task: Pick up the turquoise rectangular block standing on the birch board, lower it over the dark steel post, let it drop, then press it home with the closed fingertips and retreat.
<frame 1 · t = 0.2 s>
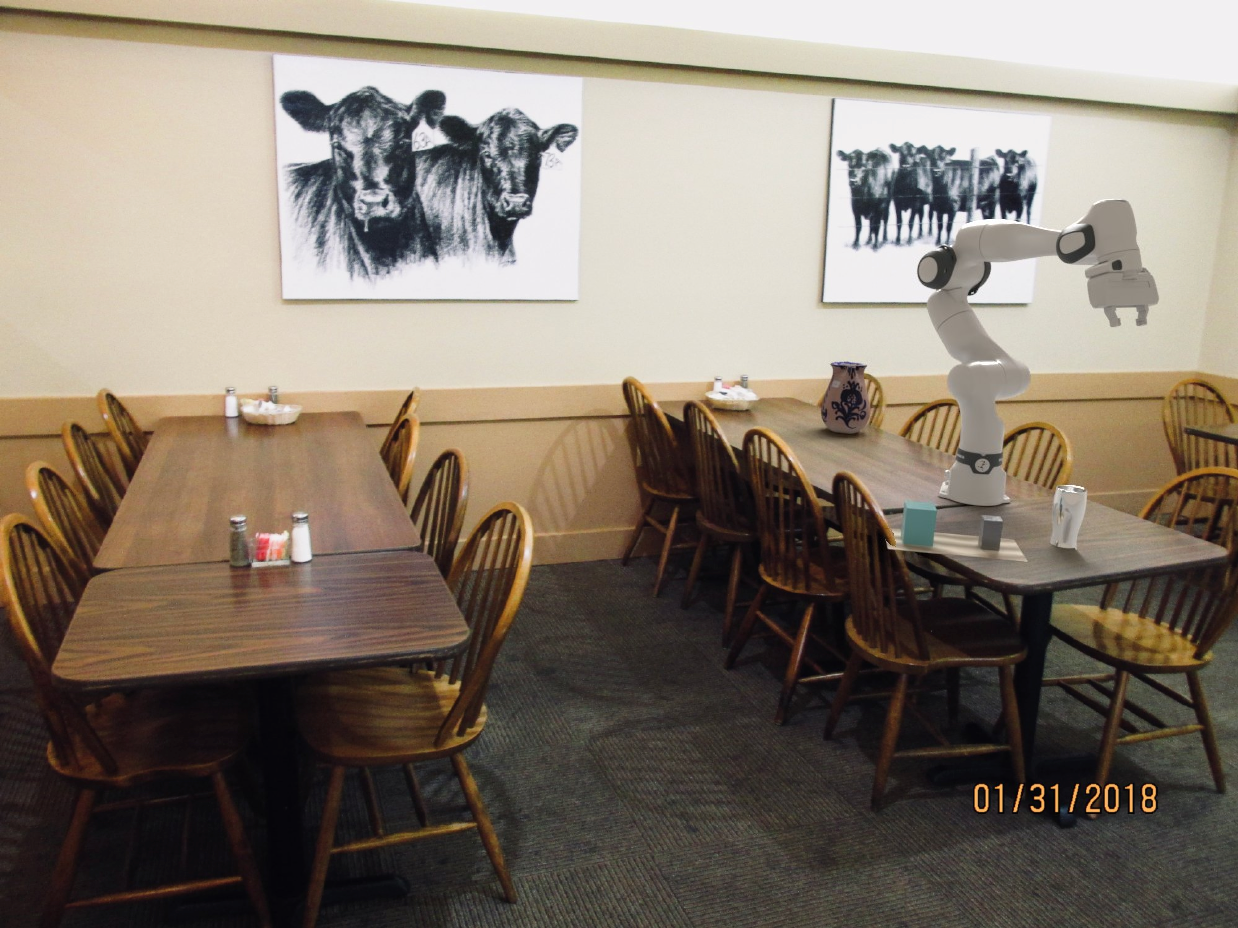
hand: (1129, 326, 220), 52 cm above the table, tool tilted 20°, fingers open, 8 cm apart
birch board: (951, 550, 221), on the table
beer glass: (1062, 550, 224), on the table
turquoise rectangular block: (916, 540, 222), point 1 cm above the table, touching birch board
steel post: (988, 547, 219), resting on birch board
ceramic pitcher: (842, 431, 351), on the table
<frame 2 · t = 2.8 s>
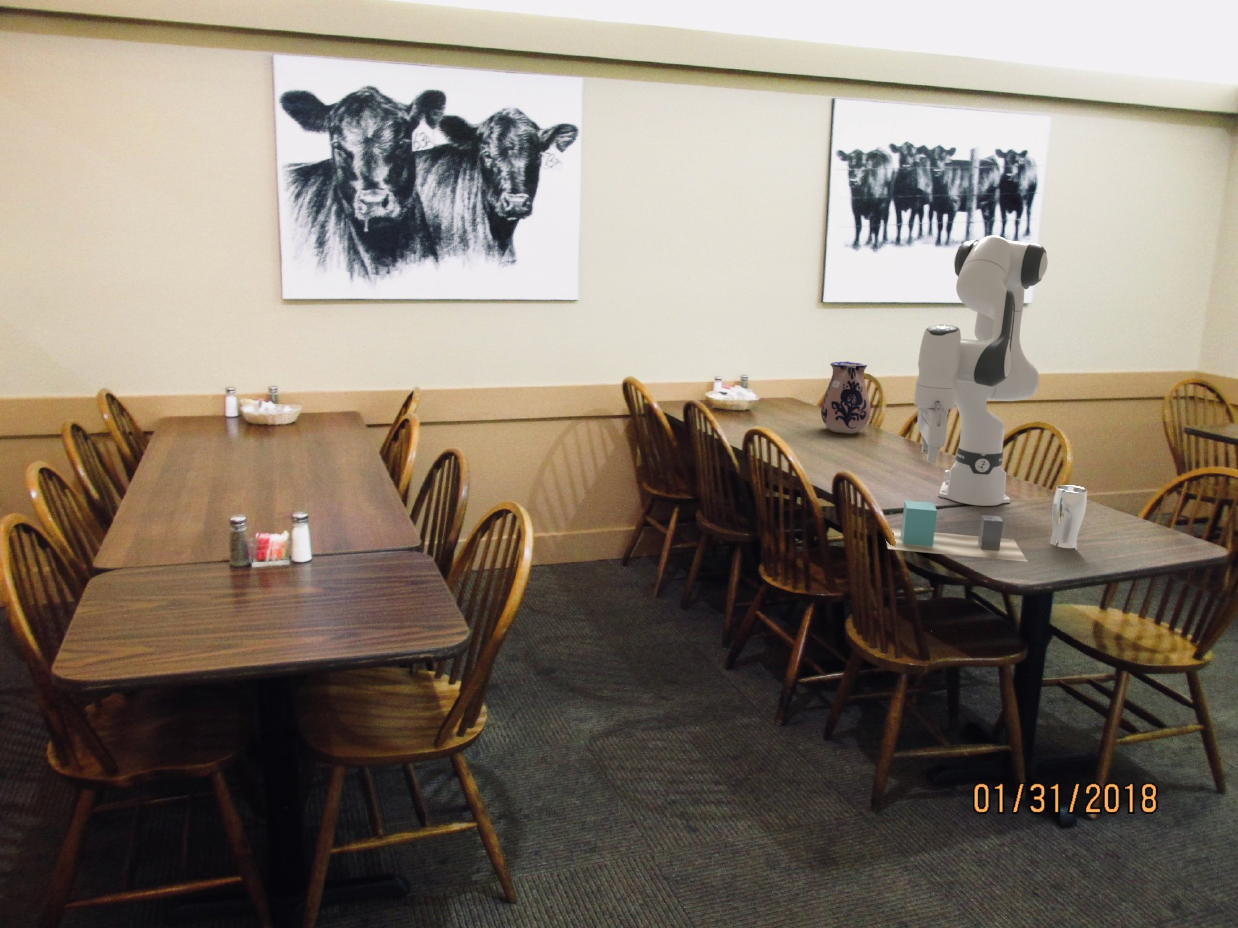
hand: (928, 458, 217), 22 cm above the table, tool pointing down, fingers open, 8 cm apart
nothing on the table moved.
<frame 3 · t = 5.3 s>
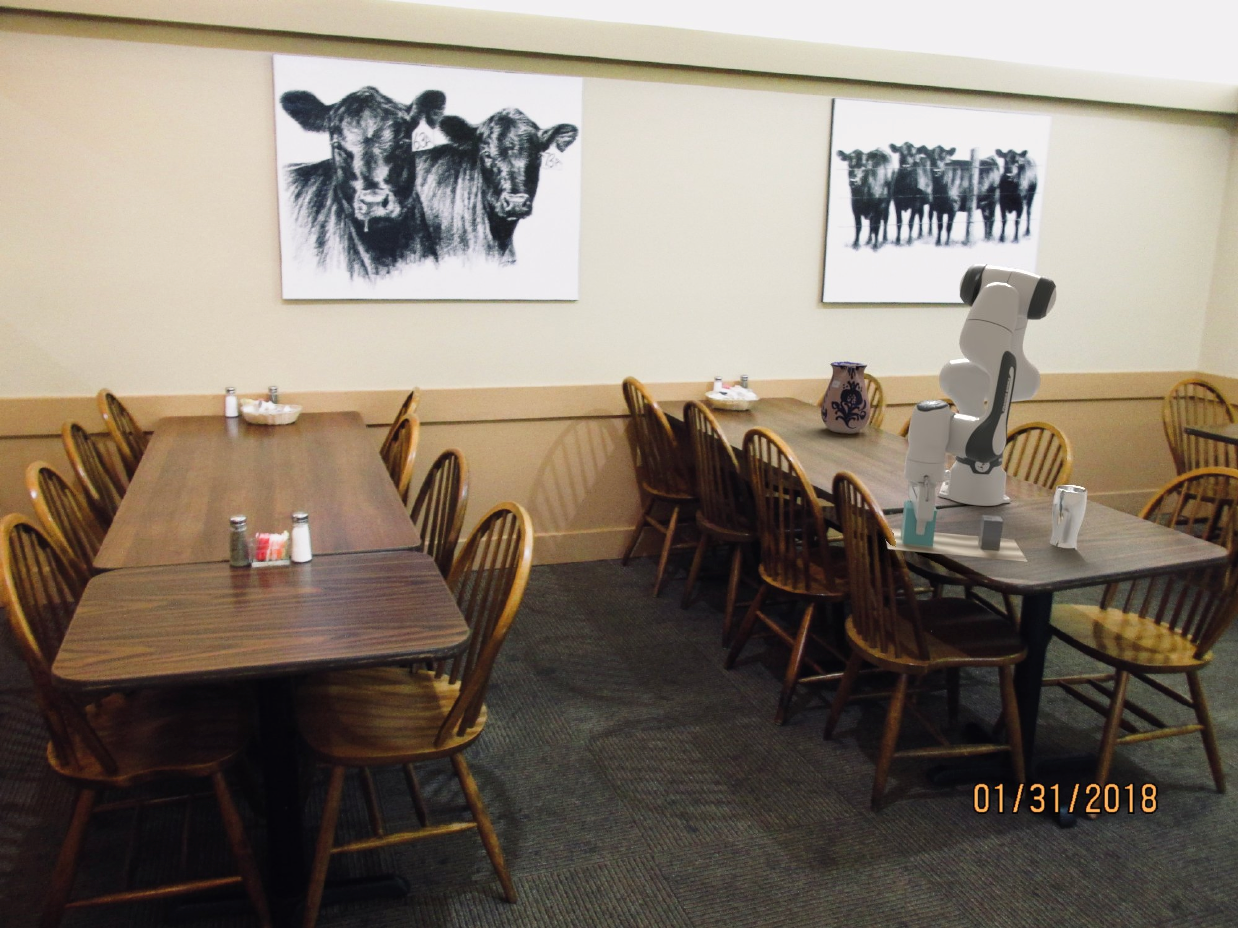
hand: (917, 528, 222), 4 cm above the table, tool pointing down, fingers closed on turquoise rectangular block, 7 cm apart
turquoise rectangular block: (916, 540, 222), point 2 cm above the table, touching birch board, gripper
everything else where it was.
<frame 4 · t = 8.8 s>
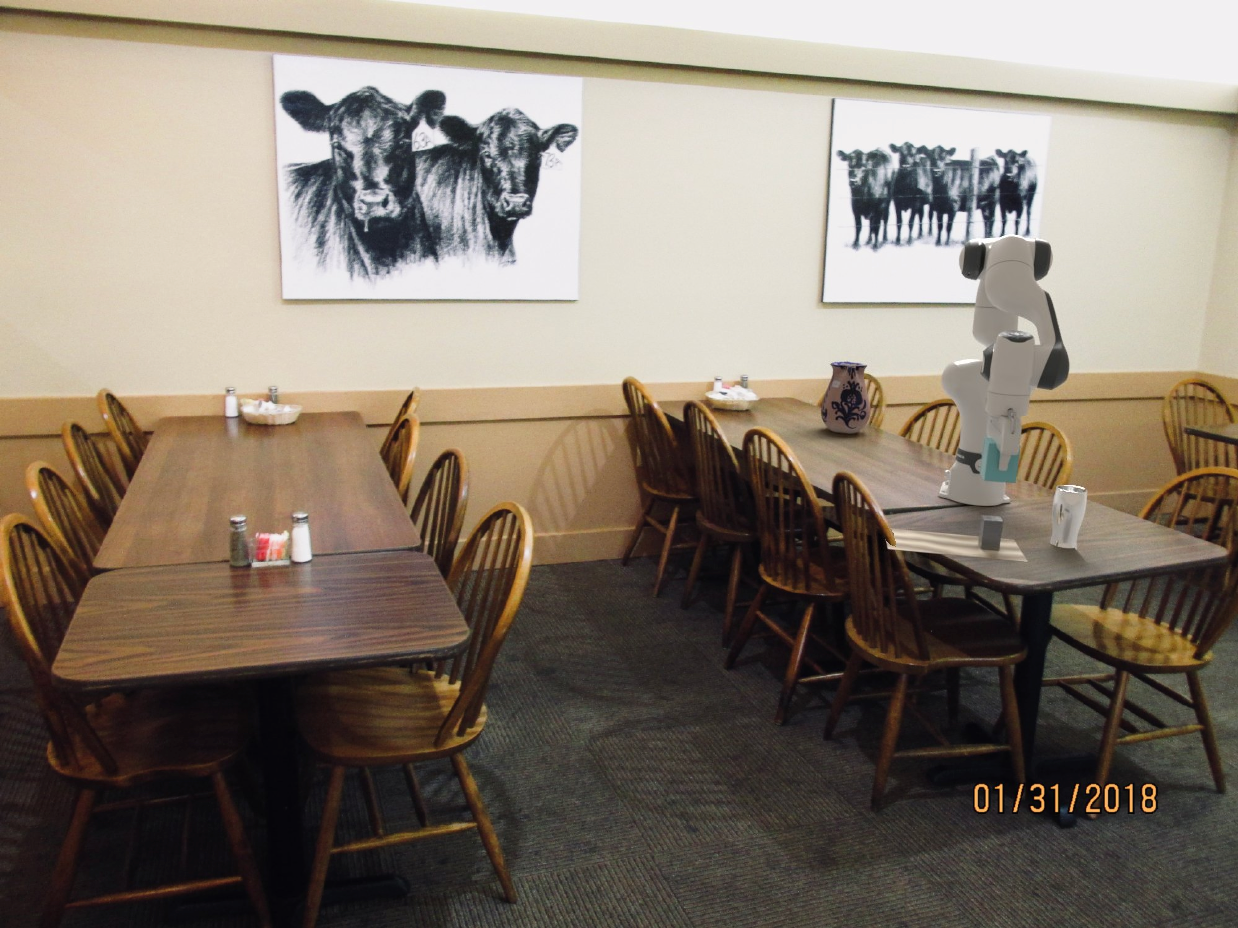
hand: (999, 465, 215), 21 cm above the table, tool pointing down, fingers closed on turquoise rectangular block, 7 cm apart
turquoise rectangular block: (997, 478, 215), point 18 cm above the table, touching gripper
everything else where it was.
when the fingers open (9 cm above the table, at t = 12.2 s): turquoise rectangular block drops 4 cm, resting on birch board.
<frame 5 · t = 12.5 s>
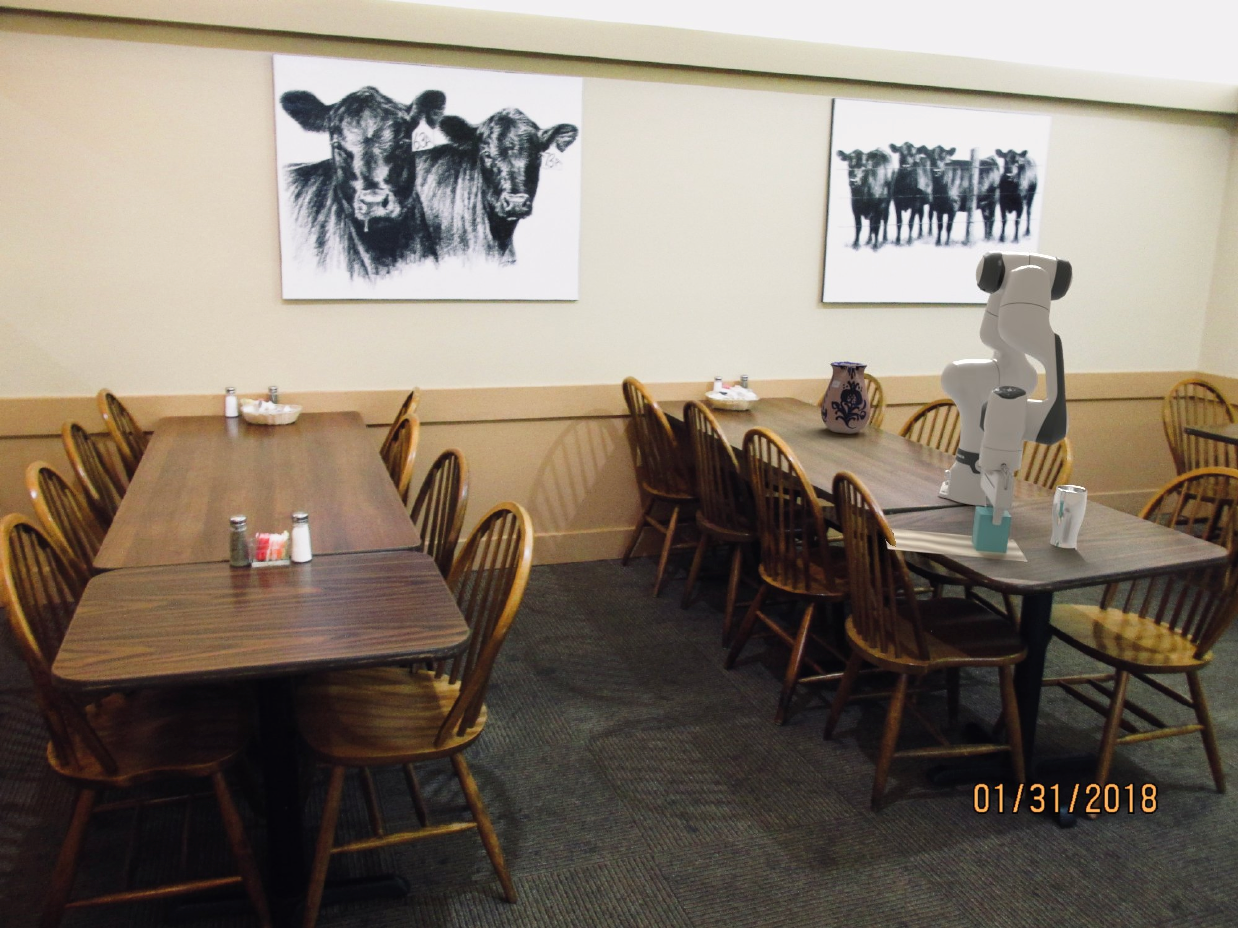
hand: (992, 517, 218), 9 cm above the table, tool pointing down, fingers open, 8 cm apart
turquoise rectangular block: (988, 547, 219), point 1 cm above the table, touching birch board
everything else where it was.
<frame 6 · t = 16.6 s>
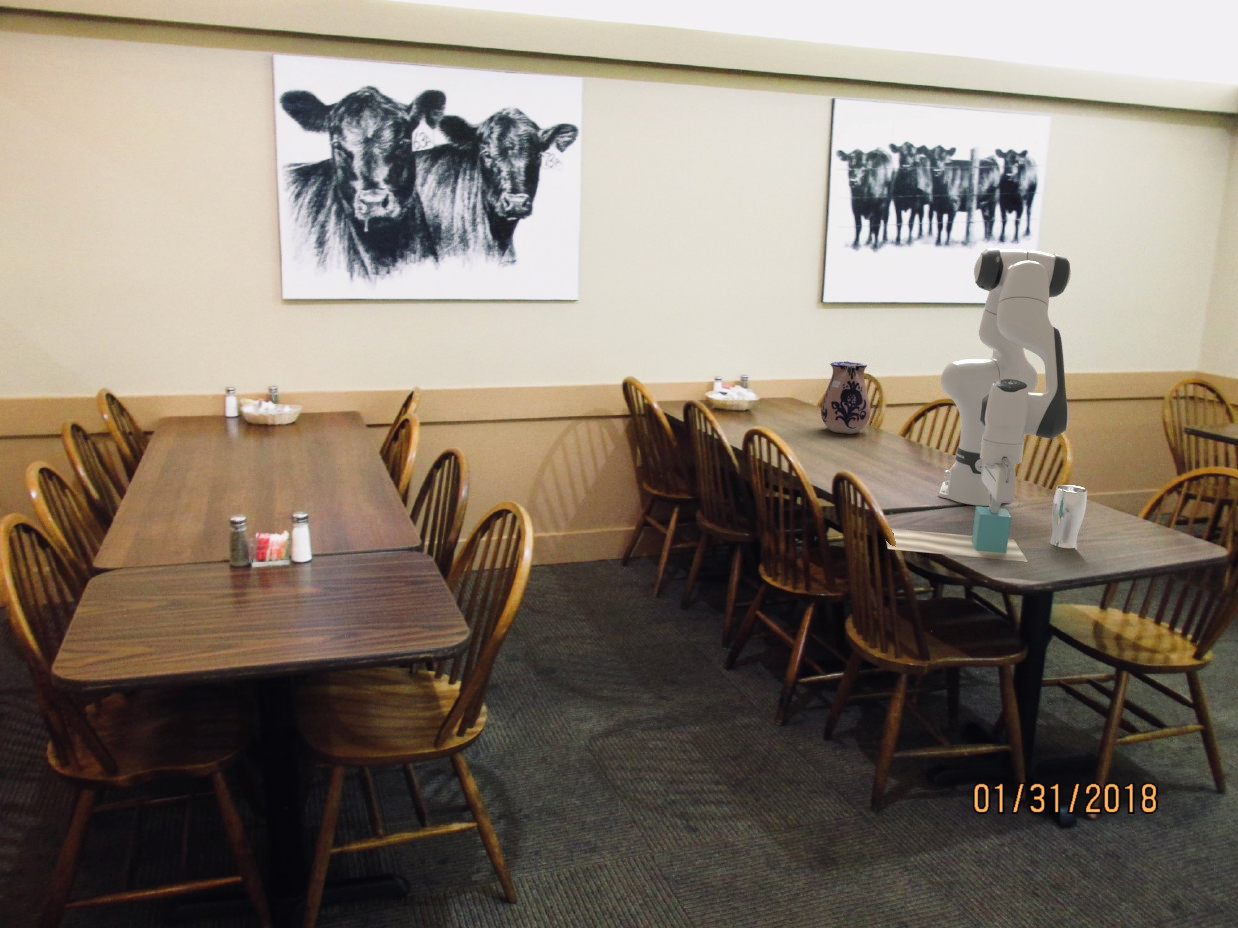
hand: (993, 511, 217), 10 cm above the table, tool pointing down, fingers closed, pressing on turquoise rectangular block
turquoise rectangular block: (988, 547, 219), point 2 cm above the table, touching birch board, gripper
everything else where it was.
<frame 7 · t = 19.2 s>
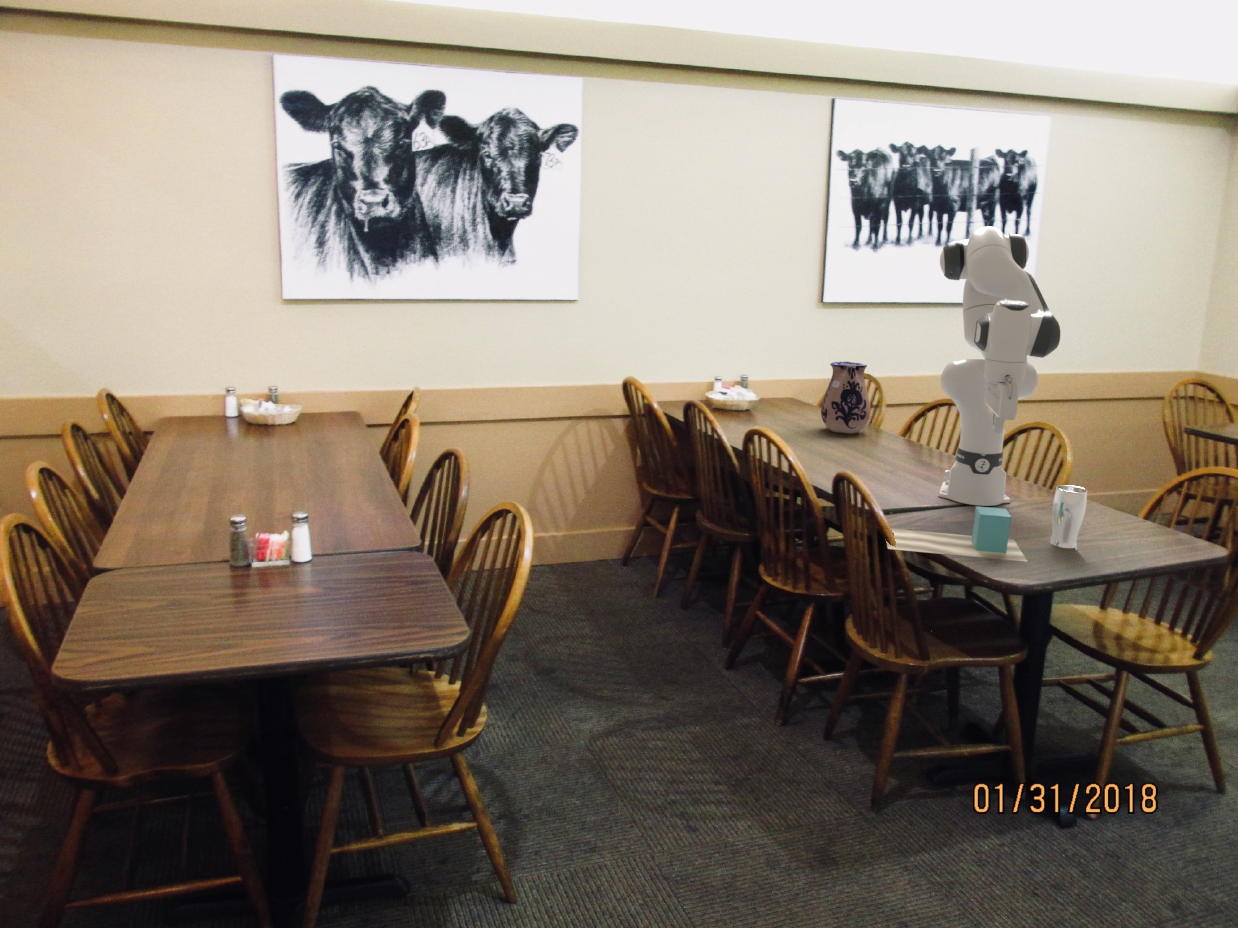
hand: (996, 431, 221), 27 cm above the table, tool pointing down, fingers closed
turquoise rectangular block: (988, 547, 219), point 1 cm above the table, touching birch board
everything else where it was.
at the end: turquoise rectangular block 0.1 cm from the steel post (horizontally); turquoise rectangular block point 1.5 cm above the table; turquoise rectangular block tilted 0° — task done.
